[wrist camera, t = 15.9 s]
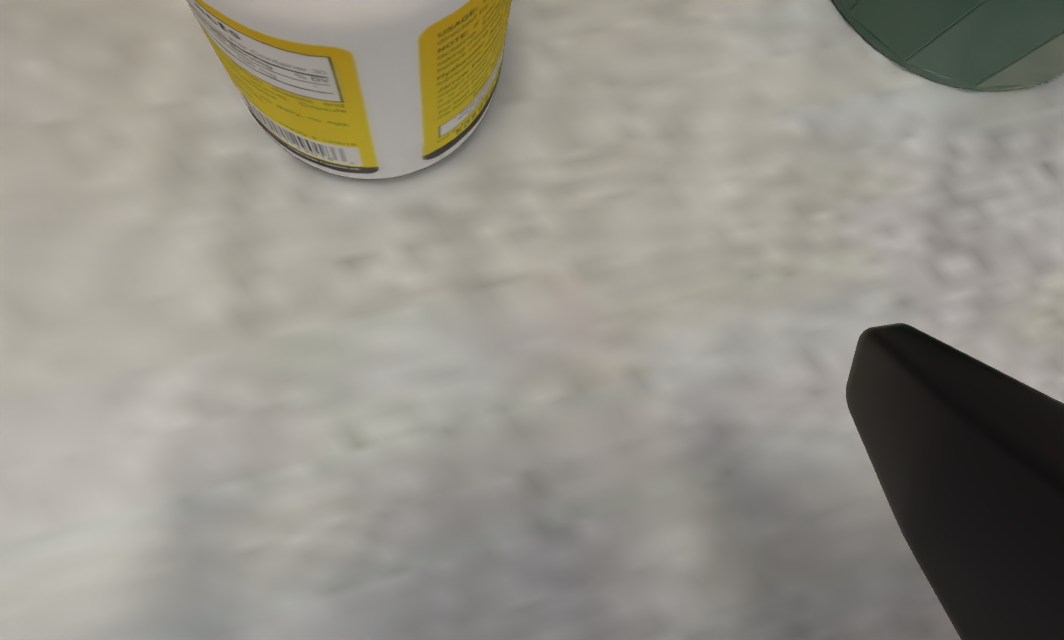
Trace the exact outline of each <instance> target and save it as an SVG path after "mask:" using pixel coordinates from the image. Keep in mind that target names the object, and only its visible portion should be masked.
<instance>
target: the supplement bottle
mask: <svg viewBox="0 0 1064 640" xmlns="http://www.w3.org/2000/svg"><path fill="white" fill-rule="evenodd" d="M186 1H187V2H188V4H189V6H190V8H191V10H192V12H193V13H194V15H195V17H196V19H197V20H198V22H199V24H200V25H201V27H202V29H203V31H204V33H205V34H206V36H207V38H208V39H209V41H210V43H211V45H212V46H213V48H214V50H215V52H216V54H217V55H218V57H219V59H220V61H221V62H222V64H223V65H224V67H225V69H226V70H227V72H228V74H229V76H230V78H231V79H232V81H233V83H234V84H235V86H236V88H237V90H238V91H239V93H240V95H241V96H242V98H243V100H244V101H245V103H246V105H247V106H248V108H249V110H250V112H251V113H252V115H253V116H254V118H255V119H256V120H257V121H258V123H259V124H260V125H261V126H262V127H263V129H264V130H265V131H266V132H267V133H268V134H269V135H270V136H271V137H272V138H273V139H274V140H275V141H276V142H277V143H278V144H279V145H280V146H282V147H283V148H284V149H285V150H287V151H288V152H289V153H291V154H292V155H294V156H295V157H297V158H298V159H300V160H302V161H304V162H306V163H308V164H310V165H312V166H314V167H316V168H319V169H321V170H324V171H326V172H330V173H333V174H337V175H341V176H345V177H352V178H360V179H379V178H390V177H396V176H401V175H405V174H408V173H412V172H415V171H417V170H420V169H423V168H425V167H428V166H430V165H432V164H434V163H435V162H437V161H439V160H441V159H442V158H444V157H446V156H447V155H448V154H450V153H451V152H452V151H454V150H455V149H456V148H457V147H458V146H460V145H461V144H462V143H463V142H464V141H465V140H466V139H467V138H468V137H469V136H470V135H471V134H472V132H473V131H474V130H475V128H476V127H477V126H478V124H479V123H480V121H481V120H482V118H483V117H484V115H485V113H486V111H487V109H488V107H489V105H490V103H491V100H492V98H493V95H494V92H495V89H496V85H497V82H498V78H499V74H500V69H501V63H502V58H503V51H504V44H505V36H506V30H507V23H508V17H509V10H510V4H511V0H186Z"/></svg>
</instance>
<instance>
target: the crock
mask: <svg viewBox="0 0 1064 640" xmlns="http://www.w3.org/2000/svg"><path fill="white" fill-rule="evenodd" d="M833 2H834V3H835V5H836V6H837V8H838V9H839V10H840V12H841V13H842V14H843V15H844V17H845V18H846V19H847V20H848V22H849V23H850V24H851V25H852V26H853V27H854V28H855V29H856V30H857V31H858V32H859V33H860V34H861V35H862V36H863V37H864V38H865V39H866V40H867V41H868V42H869V43H870V44H871V45H873V46H874V47H875V48H876V49H878V50H879V51H880V52H882V53H883V54H884V55H885V56H887V57H888V58H890V59H891V60H893V61H895V62H896V63H898V64H900V65H901V66H903V67H905V68H906V69H908V70H910V71H912V72H914V73H916V74H919V75H921V76H923V77H925V78H928V79H930V80H933V81H936V82H939V83H943V84H946V85H949V86H953V87H958V88H964V89H971V90H979V91H1005V90H1014V89H1022V88H1026V87H1030V86H1034V85H1040V84H1042V83H1047V82H1049V81H1051V80H1053V79H1055V78H1057V77H1059V76H1061V75H1063V74H1064V0H833Z"/></svg>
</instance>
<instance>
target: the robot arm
mask: <svg viewBox="0 0 1064 640" xmlns="http://www.w3.org/2000/svg"><path fill="white" fill-rule="evenodd" d="M846 399H847V404H848V408H849V411H850V413H851V416H852V418H853V420H854V423H855V425H856V427H857V430H858V432H859V434H860V437H861V439H862V442H863V444H864V446H865V449H866V451H867V453H868V456H869V458H870V460H871V463H872V465H873V467H874V470H875V472H876V474H877V477H878V479H879V481H880V484H881V486H882V488H883V491H884V493H885V495H886V498H887V500H888V502H889V505H890V507H891V510H892V512H893V514H894V516H895V519H896V521H897V523H898V525H899V527H900V529H901V532H902V534H903V536H904V538H905V540H906V541H907V543H908V545H909V547H910V549H911V551H912V553H913V555H914V556H915V558H916V560H917V562H918V564H919V565H920V567H921V569H922V571H923V572H924V574H925V576H926V578H927V580H928V581H929V583H930V585H931V587H932V588H933V590H934V592H935V594H936V596H937V597H938V599H939V601H940V603H941V604H942V606H943V608H944V610H945V612H946V613H947V615H948V617H949V619H950V620H951V622H952V624H953V626H954V627H955V629H956V631H957V633H958V635H959V636H960V638H961V640H1064V404H1063V403H1061V402H1059V401H1057V400H1055V399H1053V398H1051V397H1049V396H1047V395H1045V394H1043V393H1042V392H1040V391H1038V390H1036V389H1034V388H1032V387H1030V386H1028V385H1026V384H1024V383H1022V382H1020V381H1018V380H1016V379H1014V378H1012V377H1010V376H1008V375H1006V374H1004V373H1002V372H1000V371H998V370H996V369H994V368H992V367H990V366H988V365H986V364H985V363H983V362H981V361H979V360H977V359H975V358H973V357H971V356H969V355H967V354H965V353H963V352H961V351H959V350H957V349H955V348H953V347H951V346H949V345H947V344H945V343H943V342H941V341H939V340H937V339H935V338H933V337H931V336H929V335H928V334H926V333H924V332H922V331H920V330H918V329H916V328H914V327H912V326H909V325H907V324H903V323H896V324H890V325H883V326H877V327H871V328H868V329H866V330H865V331H864V332H863V333H862V334H861V335H860V337H859V340H858V343H857V347H856V351H855V355H854V358H853V362H852V366H851V370H850V374H849V378H848V381H847V386H846Z"/></svg>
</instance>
